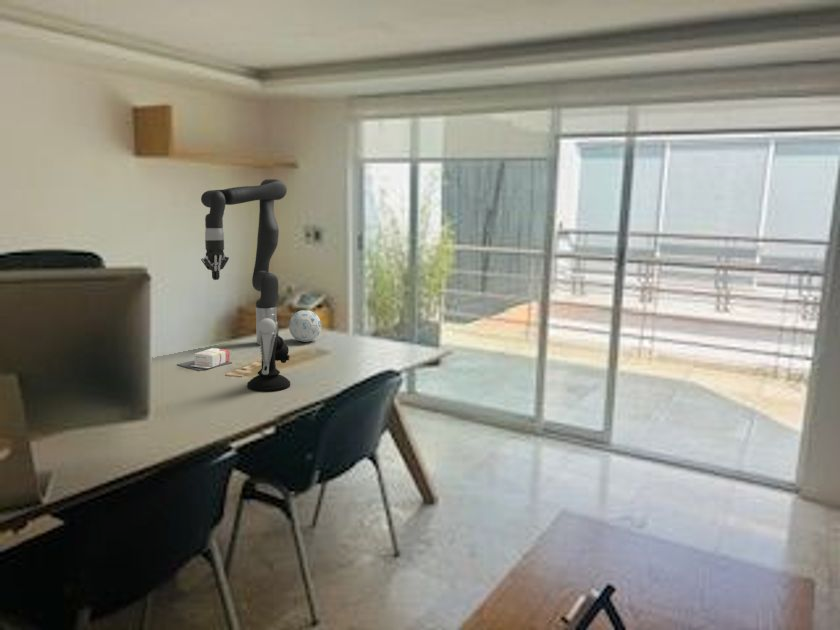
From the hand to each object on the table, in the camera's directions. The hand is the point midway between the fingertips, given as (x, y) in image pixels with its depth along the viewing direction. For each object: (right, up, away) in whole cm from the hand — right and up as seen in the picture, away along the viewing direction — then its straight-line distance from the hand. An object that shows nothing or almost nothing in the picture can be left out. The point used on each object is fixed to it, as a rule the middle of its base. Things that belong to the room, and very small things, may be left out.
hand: (215, 279), depth 280 cm
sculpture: (+33, -40, -38) cm, 64 cm away
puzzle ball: (+33, -28, +32) cm, 53 cm away
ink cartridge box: (+5, -31, -9) cm, 33 cm away
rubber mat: (0, -35, -14) cm, 38 cm away
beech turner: (+19, -37, -22) cm, 47 cm away
